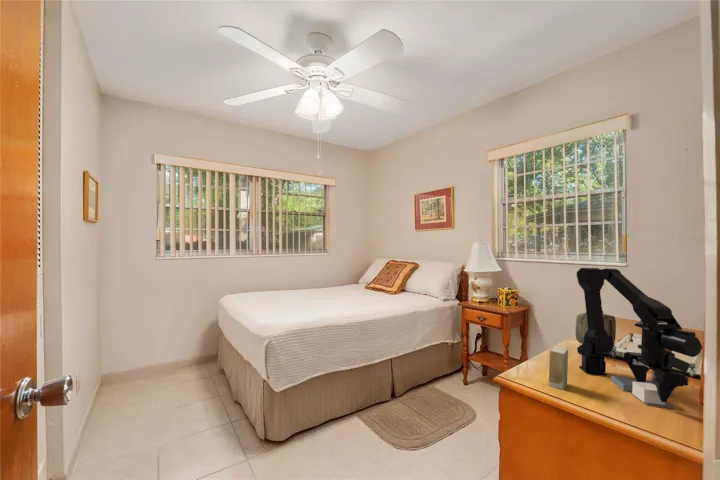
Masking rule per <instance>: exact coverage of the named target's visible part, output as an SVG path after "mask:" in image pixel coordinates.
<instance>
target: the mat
mask: <svg viewBox="0 0 720 480" xmlns="http://www.w3.org/2000/svg"><path fill="white" fill-rule="evenodd" d="M631 395H632V396H634V397H636V396H635V395H633V394H632V393H631ZM636 398H637V397H636ZM637 399H638V400H639V401H641V400H640V399H639V398H637ZM641 402H642V403H643V404H644V405H646V406H651V407H652V406H653V407H659V408H668V409H675V406H674V405H673V404H670V403H669V402H667V401H666V402H665V405H662V404H653V403H645V402H643V401H641Z"/></svg>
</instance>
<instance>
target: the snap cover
mask: <svg viewBox="0 0 720 480" xmlns="http://www.w3.org/2000/svg"><path fill="white" fill-rule="evenodd" d="M632 394H633V395H632ZM631 395H632V396H634V395H635V396H636V399H638V398H639V399H640V400H639V399H638V400H639V401H641V402H642V401H643V402H645V403H653V404H662V405H665V402H661V400H660V398H659V395H658V391H657V388H656V385H654V384H652V383H643V382H634V381H633V385H632V392H631ZM635 396H634V397H635ZM643 402H642V403H643ZM645 403H644V404H645Z"/></svg>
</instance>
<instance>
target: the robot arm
mask: <svg viewBox="0 0 720 480" xmlns="http://www.w3.org/2000/svg"><path fill="white" fill-rule="evenodd" d="M576 279H577V284H578V285H579V286H580V288H581V289H582V290H583V293H584V304H585V313H586V314H587V323H588V330H587V332H586V334H585V335H584V343H583V344H582V343H581V344H580V345H579V346H578V347H576V349H577V354H578V355H581V365H579V369H580V370H582V371H583V372H584V373H585V374H587V375H594V376H596V375H597V376H602V377H603V376H605V377H606V376H607V375H608V374H607V371H606V370H607V369H606V368H607V366H606V365H607V362H606V361H605V358H609V356H610V354H611V353H612V352H613V350H614V348H615V344H614V345H613V337H612V335H608V334H607V333H606V331H605V329H604V321H603V314H604V312H603V313H602V311H603V303H602V296H601V290H602V288H603V286H604V285H605V281H607V282H608V284H610V285H611V286H612V287H613V288H614V289H615V290H616V291H617V292H618V293H619V294H621V296H623V297H624V298H625V299H626V300H627V301H628V302H629V303H630V305H631V306H632V310H633V312H634V313H635V315H637V317H638V318H639V319H640V321H638V322H636V323H634V326H635V327H637V328H641V343H640V344H637V348H638V349H639V350H640V352H634V351H633V352H632V351H626V352H624V354H623V360H624V361H625V363H626V365H627V366H628V367H629V368H630V371H631V372H632V374H633V376H634V377H633V378H636V380H637V382H643V383H646V379H647V374H648V372H649V371H651V370H653V371H654V375H655V377H656V379H655V378H654V381H655V385H656V388H657V391H658V395H659V398H660V400H661V402H667V401H668V400H669V398H670V397H671V396H670V395H671V393H672V391H673V392H674V390H675V389H676V388H678V387H681V388H682V387H684V386H685V387H686V386H689V378H688V376H687V375H686V374H688V373H687V372H688V371H689V368H690V366H691V363H689V362H687V361H686V360H682V359H681V358H678V357H676V354H675V353H677V354H681V355H684V356H688V357H691V358H695V357H697V356H698V355H700V353H701V351H702V343H701V341H700V339H699V338H698V337H697V336H696V332H694V331H692V330H691V331H689V330H683V328H682V326H681V325H680V323H679V322H678V321H677V319H676V318H675V316H674V315H673V311H672V309H671V308H670V307H668V306H667V305H666V304H664V303H663V302H661V301H659V300H657V299H656V298H655V299H654V298H652V297H649V296H648V295H647V294H646V293H644V292H643V291H642V290H641V289H639V288H638V287H637V286H636V285H635V284H634V283H633V282H631V280H629V279H628V278H627V277H626V276H624V275H623V274H622V273H621V271H620V270H619V269H617V268H602V269H601V268H599V267H580V268H578V270H577V271H576ZM674 352H675V353H674ZM650 369H651V370H650ZM674 369H675V370H674ZM677 370H678V371H677ZM679 371H681V372H679ZM683 373H684V374H683Z"/></svg>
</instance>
